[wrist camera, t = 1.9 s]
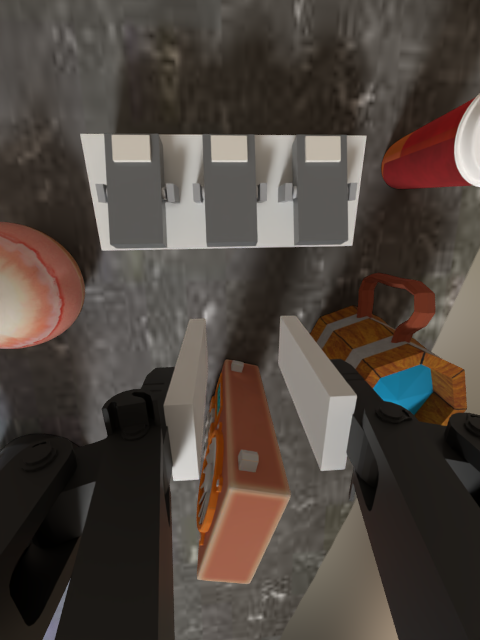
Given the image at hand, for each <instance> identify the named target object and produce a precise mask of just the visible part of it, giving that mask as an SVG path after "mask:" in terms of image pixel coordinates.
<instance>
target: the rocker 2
mask: <svg viewBox="0 0 480 640" xmlns="http://www.w3.org/2000/svg"><path fill="white" fill-rule="evenodd" d="M202 139H203V166H204V186H202V195H203V199H205V219H206V243H207V247H236V246H256V244H257V242H258V233H257V198H258V186H256V163H255V134H202Z"/></svg>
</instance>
